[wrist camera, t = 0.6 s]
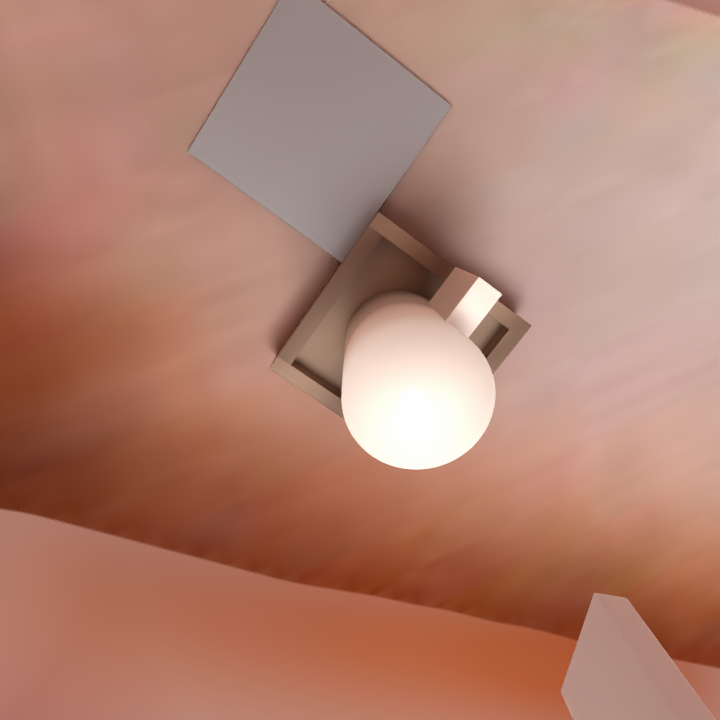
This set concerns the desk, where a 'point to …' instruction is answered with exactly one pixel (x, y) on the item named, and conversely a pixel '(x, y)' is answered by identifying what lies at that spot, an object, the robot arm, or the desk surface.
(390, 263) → the holder
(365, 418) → the white rounded piece
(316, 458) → the desk surface
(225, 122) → the mat
